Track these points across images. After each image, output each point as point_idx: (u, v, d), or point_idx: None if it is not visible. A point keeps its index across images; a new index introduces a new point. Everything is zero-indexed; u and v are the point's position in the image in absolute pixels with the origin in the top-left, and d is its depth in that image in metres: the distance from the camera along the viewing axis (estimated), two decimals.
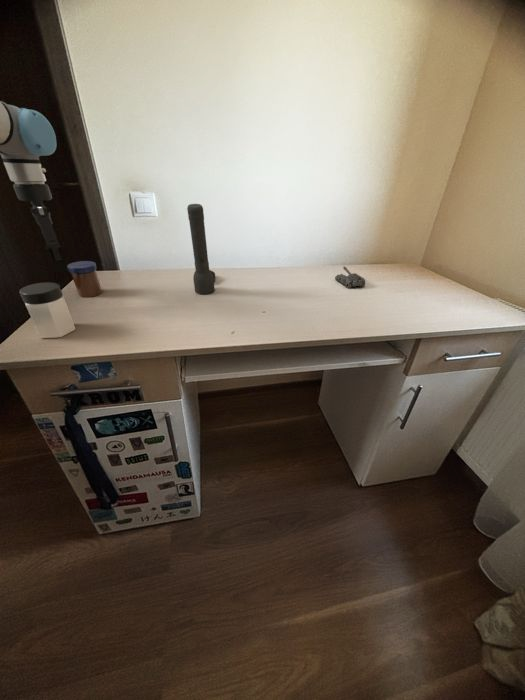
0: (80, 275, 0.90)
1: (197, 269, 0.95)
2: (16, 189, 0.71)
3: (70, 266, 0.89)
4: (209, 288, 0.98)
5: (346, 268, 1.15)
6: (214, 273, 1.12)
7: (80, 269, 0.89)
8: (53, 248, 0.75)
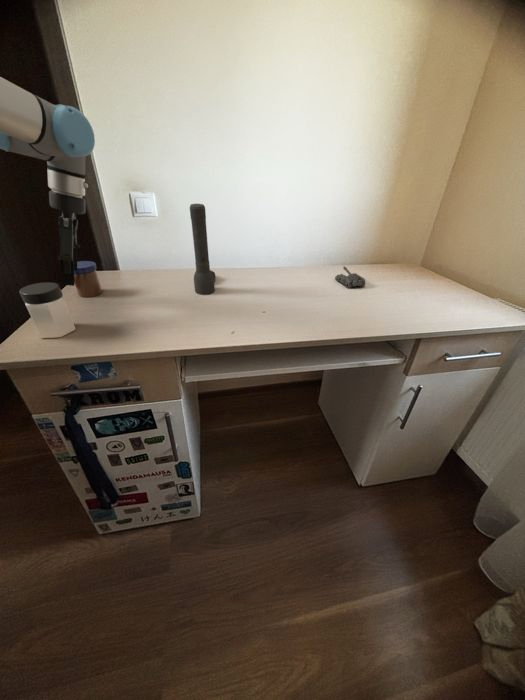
0: (80, 275, 0.90)
1: (198, 269, 0.95)
2: (50, 196, 0.67)
3: None
4: (209, 288, 0.98)
5: (346, 268, 1.15)
6: (214, 273, 1.12)
7: (80, 269, 0.89)
8: (65, 261, 0.70)
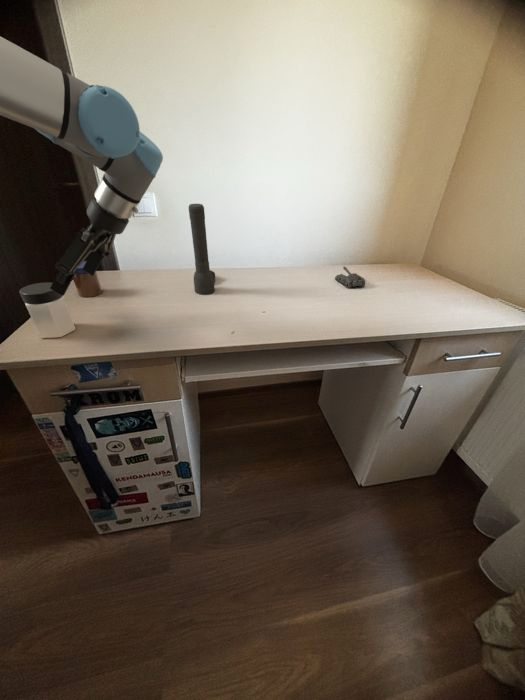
0: (80, 275, 0.90)
1: (197, 269, 0.95)
2: (90, 202, 0.58)
3: None
4: (209, 287, 0.98)
5: (346, 268, 1.15)
6: (214, 273, 1.12)
7: (80, 269, 0.89)
8: None
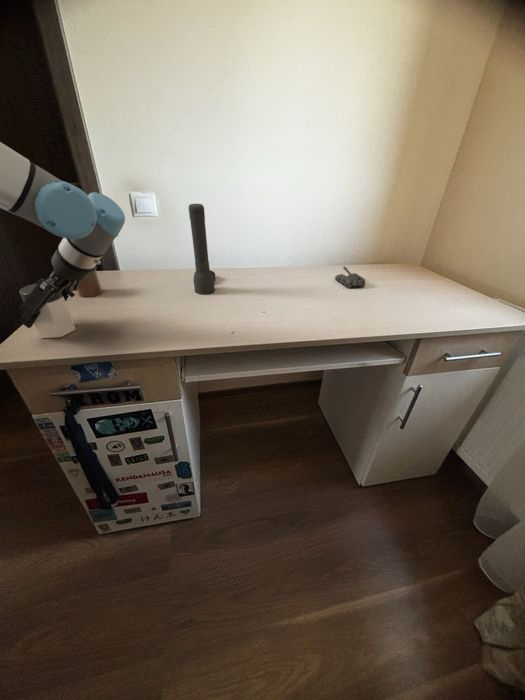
0: None
1: (197, 269, 0.95)
2: None
3: None
4: (209, 287, 0.98)
5: (346, 268, 1.15)
6: (214, 273, 1.12)
7: None
8: None
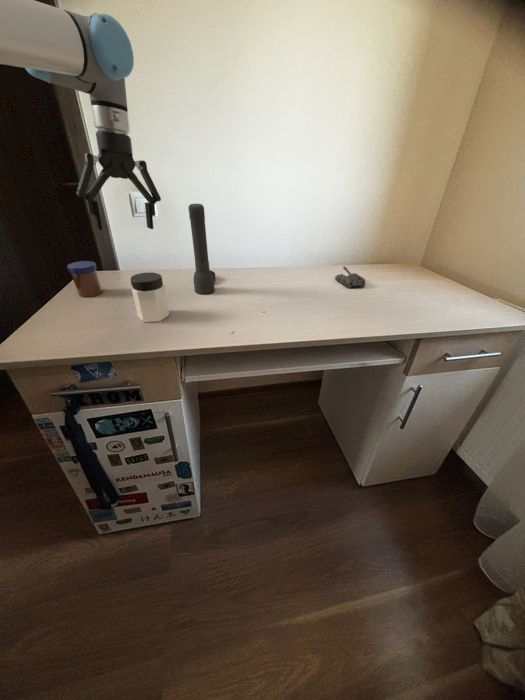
0: (80, 275, 0.90)
1: (197, 269, 0.95)
2: None
3: (70, 266, 0.89)
4: (208, 288, 0.98)
5: (346, 268, 1.15)
6: (214, 273, 1.12)
7: (80, 269, 0.89)
8: None
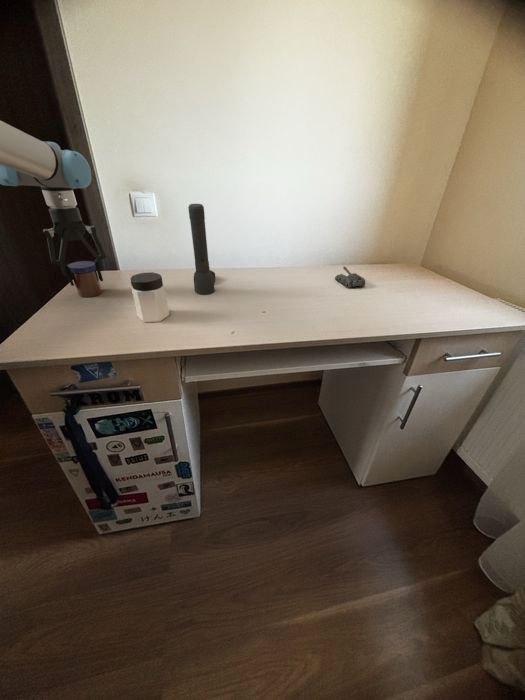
0: (80, 275, 0.90)
1: (197, 269, 0.95)
2: None
3: (70, 266, 0.89)
4: (208, 288, 0.98)
5: (346, 268, 1.15)
6: (214, 273, 1.12)
7: (80, 269, 0.89)
8: None
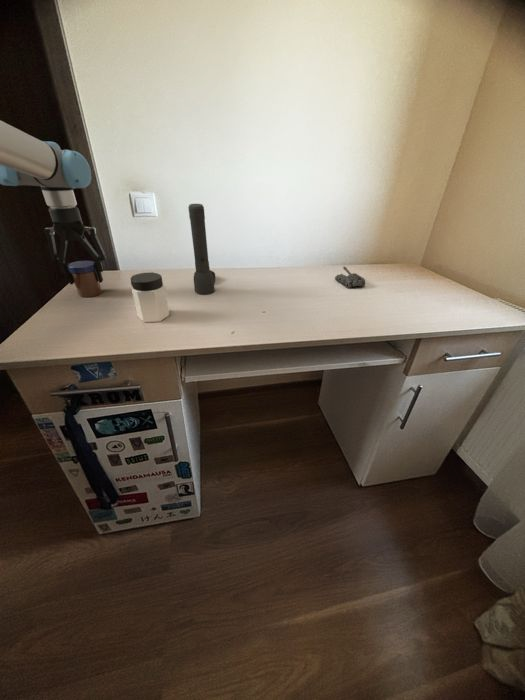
0: (80, 275, 0.90)
1: (197, 269, 0.95)
2: (68, 213, 0.81)
3: (92, 263, 0.92)
4: (208, 288, 0.98)
5: (346, 268, 1.15)
6: (214, 273, 1.12)
7: None
8: None
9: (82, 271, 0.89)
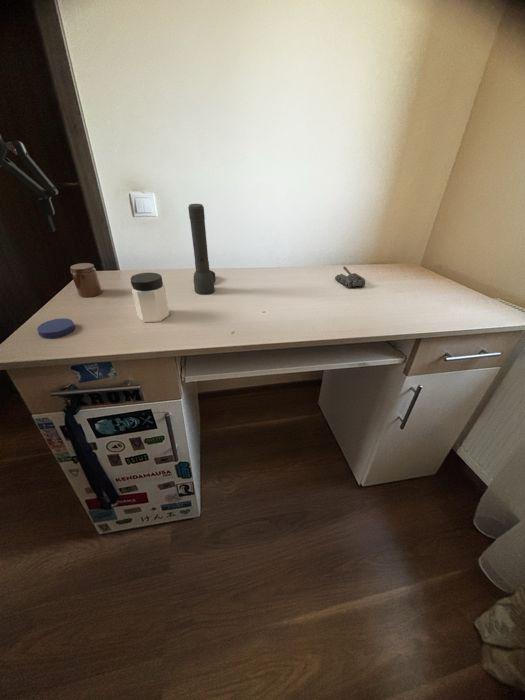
0: (80, 275, 0.90)
1: (197, 269, 0.95)
2: None
3: (69, 322, 0.76)
4: (208, 288, 0.98)
5: (346, 268, 1.15)
6: (214, 273, 1.12)
7: None
8: (50, 198, 0.60)
9: (57, 335, 0.72)
